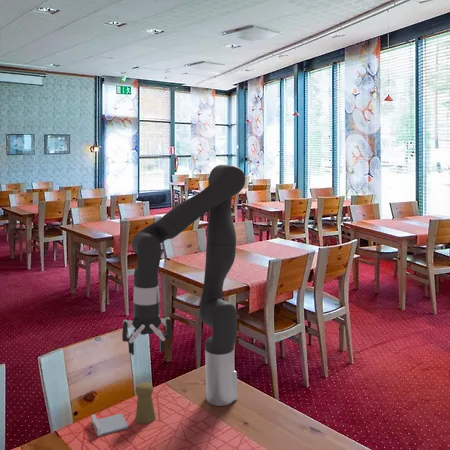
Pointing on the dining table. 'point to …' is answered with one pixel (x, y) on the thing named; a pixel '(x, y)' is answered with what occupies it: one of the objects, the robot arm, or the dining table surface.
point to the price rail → (96, 425)
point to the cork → (145, 403)
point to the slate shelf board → (112, 424)
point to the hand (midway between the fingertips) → (146, 352)
